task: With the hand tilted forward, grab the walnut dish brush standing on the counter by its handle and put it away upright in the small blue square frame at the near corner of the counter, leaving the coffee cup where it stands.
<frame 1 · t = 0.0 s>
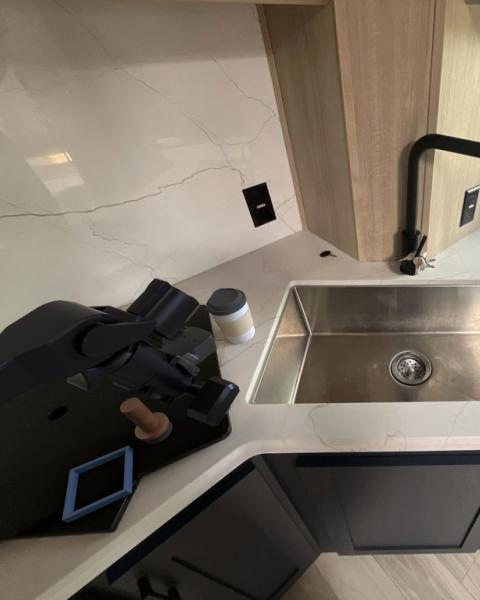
hand: (206, 401, 55), 16 cm above the worktop, tool pointing down, fingers open, 9 cm apart
dish brush: (160, 434, 67), on the worktop
blue square frame: (106, 484, 60), on the worktop
coffee cup: (242, 336, 88), on the worktop
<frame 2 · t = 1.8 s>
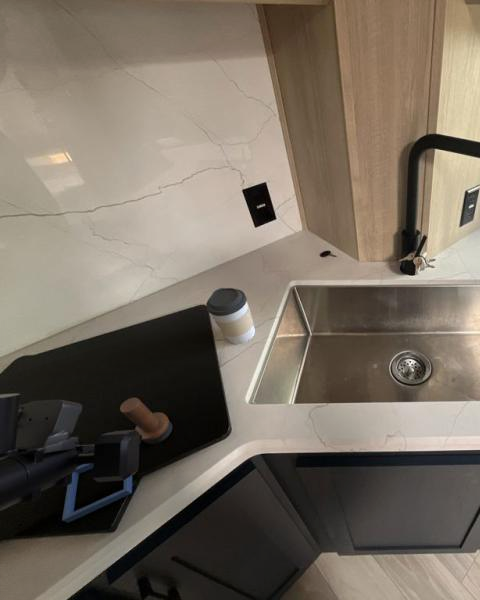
hand: (111, 439, 53), 14 cm above the worktop, tool tilted 40°, fingers open, 9 cm apart
nothing on the worktop moved.
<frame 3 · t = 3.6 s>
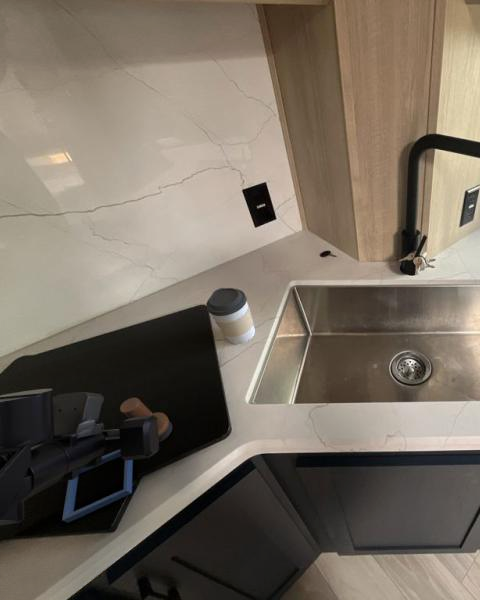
hand: (128, 424, 59), 10 cm above the worktop, tool tilted 45°, fingers open, 9 cm apart
nothing on the worktop moved.
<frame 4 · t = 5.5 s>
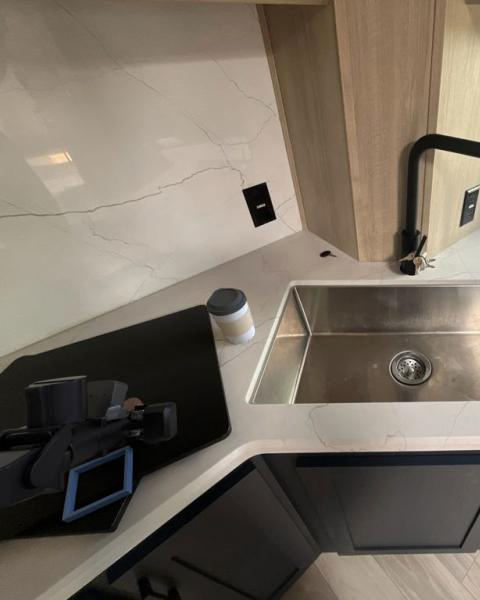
hand: (147, 412, 64), 7 cm above the worktop, tool tilted 45°, fingers closed on dish brush, 3 cm apart
dish brush: (160, 434, 67), on the worktop, touching gripper
everything else where it was.
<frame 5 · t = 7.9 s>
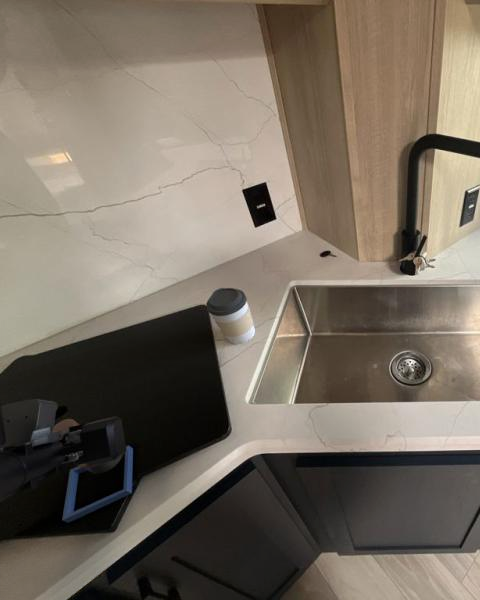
hand: (87, 435, 55), 12 cm above the worktop, tool tilted 45°, fingers closed on dish brush, 3 cm apart
dish brush: (106, 458, 59), point 5 cm above the worktop, touching gripper
everything else where it was.
when the fingers open (7 cm above the worktop, at t = 10.2 s): dish brush stays where it is, resting on blue square frame.
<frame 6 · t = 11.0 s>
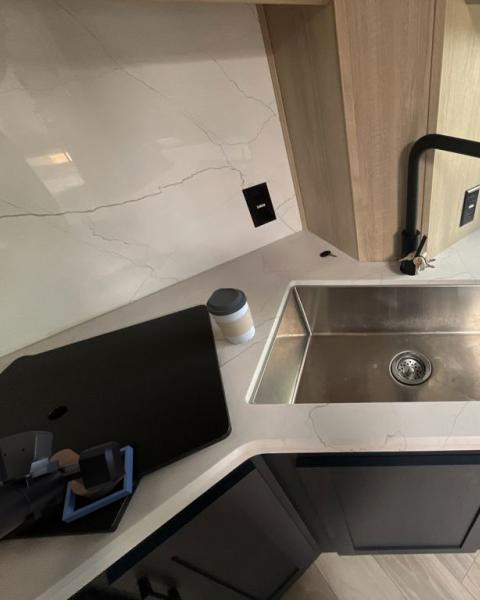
hand: (82, 460, 56), 8 cm above the worktop, tool tilted 45°, fingers open, 9 cm apart
dish brush: (104, 484, 60), resting on blue square frame
everything else where it was.
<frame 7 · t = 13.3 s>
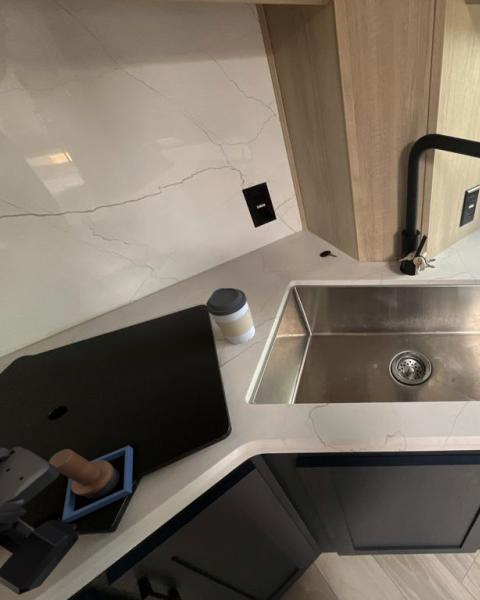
hand: (47, 512, 47), 12 cm above the worktop, tool tilted 25°, fingers open, 9 cm apart
nothing on the worktop moved.
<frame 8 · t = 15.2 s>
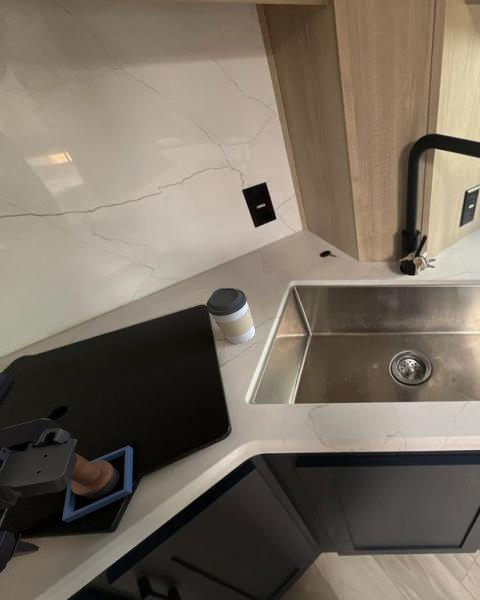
hand: (47, 513, 46), 13 cm above the worktop, tool pointing down, fingers open, 9 cm apart
nothing on the worktop moved.
at the end: dish brush inside the target area in the blue square frame (0.1 cm from its centre), point 0.5 cm above the blue square frame's base; dish brush tilted 0°; coffee cup moved 0.2 cm from its start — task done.
